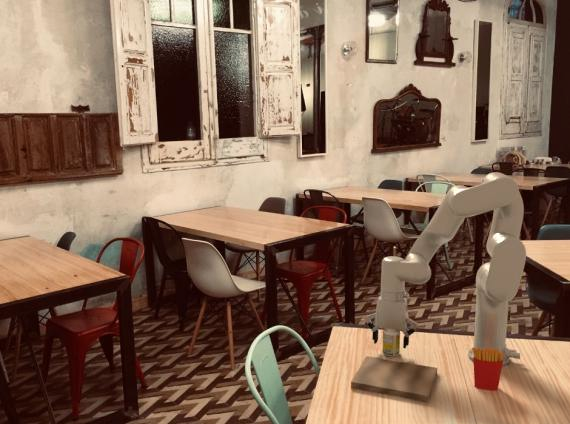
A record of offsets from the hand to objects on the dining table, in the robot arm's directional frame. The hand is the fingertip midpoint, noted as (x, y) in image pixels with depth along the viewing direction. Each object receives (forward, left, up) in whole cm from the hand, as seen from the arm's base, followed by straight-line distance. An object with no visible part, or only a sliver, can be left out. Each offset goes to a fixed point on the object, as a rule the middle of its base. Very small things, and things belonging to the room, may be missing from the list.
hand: (390, 344), depth 183 cm
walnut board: (-5, +18, -3) cm, 19 cm away
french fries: (-30, +12, -3) cm, 33 cm away
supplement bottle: (0, 0, -3) cm, 3 cm away
